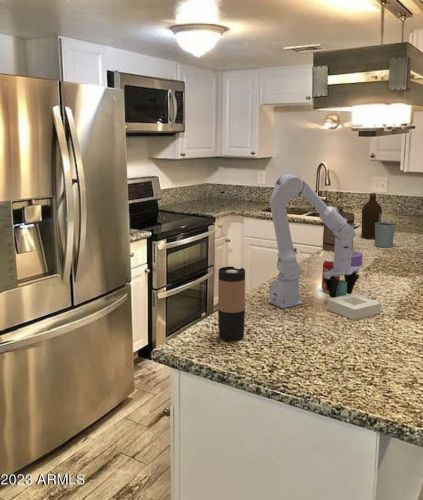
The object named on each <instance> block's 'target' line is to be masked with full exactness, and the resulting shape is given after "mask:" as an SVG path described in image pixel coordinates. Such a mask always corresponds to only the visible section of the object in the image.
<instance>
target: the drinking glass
mask: <svg viewBox="0 0 423 500" xmlns="http://www.w3.org/2000/svg"><path fill="white" fill-rule="evenodd" d="M396 226H397V224H396V223H394V222H385V221H381V222H377V223H375V239H374V247H375V248H379V249H391V248H392V247H393V243H394V238H395V233H396V228H397V227H396Z"/></svg>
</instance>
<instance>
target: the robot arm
mask: <svg viewBox="0 0 423 500" xmlns="http://www.w3.org/2000/svg"><path fill="white" fill-rule="evenodd" d="M274 184H275V185H274V188H273V189H272V190H273V191H272V193H271V197H269V205H270V211H271V217H272V222H273V228H274V235H275V238H276V240H275V241H276V245H277V250H278V252H277V261H276V269H277V270H278V272H279V273H278V274H277V278H276V279H274V280H272V281H271V282H270V284H269V300H268V303H270V304H272V305H275V306H276V307H278V308H281V309H285V308H290V307H294V306H298V305H303V304H304V301H302V300H299V286H300V276H301V274H302V268H301V267H302V266H300V264H299V262H298V261H297V256H296V254H295V252H294V246H293V241H292V234H291V229H290V224H289V223H290V222H289V218H288V212H287V204H288V203H289V202H290V201H291V199H292V198H294V197H296V195H298V196H300V197H304V198H305V199H306V200H307V201H308V202H309V204H311V206H313V207H314V208H315V210H317V212H318V213H319V219H320V220H321V221H322V222H323V224H324V223H325V224H326V225H327V226H328V227H329V228H330V230H331V231H333V235H335V236H336V237H335V250H334V252H333V258H334V269H332V270H330V271H328V272H324V280H325V282H326V284H327V287H328V290H329V293H328V294H329V298H335V297H336V290H337V286H338V283H339V280H337V279H336V278H335V277H337V276H340V277H342V276H344V281H347V294H346V295H348V294H353V290H354V287H355V285H356V283H357V281H358V279H359V278H360V274H359V273H360V267H359V266H358V267H351V254H352V251H353V248H352V240H353V241H354V238H356V235H357V232H355V227H354V228H353V227H352V226H351V225H349V224H347V219H345V218H343V217H342V216H341V215H340V214H339V213H338V211H339V210H338V209H337V207H334V206H332V205H331V206H329V205H327V204H326V203H325V202H324V201H323V200H322V198H321V197H320V196H319V195H318V194H317V192H315V190H314V189H313V188H312V187H311V185H309V184H308V183H307V181H305V180H303V179H302V178H301V176H299V175H297V174H296V175H294V174H292V173H290V172H289V173H288V172H286V173H283V174H281V175H280V176H279V177H278V178H277V180H275V183H274Z"/></svg>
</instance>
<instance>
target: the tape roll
mask: <svg viewBox="0 0 423 500" xmlns="http://www.w3.org/2000/svg"><path fill="white" fill-rule="evenodd" d="M362 265H363V253H362V252H360V251H356V250H352V254H351V267H358V268H359V267H361V266H362Z"/></svg>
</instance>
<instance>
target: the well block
mask: <svg viewBox="0 0 423 500" xmlns="http://www.w3.org/2000/svg"><path fill="white" fill-rule="evenodd" d="M326 303H327V304H326V310H328V311H331V312H333V313H336V314H338V315H340V316H342V317H345V318H348V319H350V320H352V321H356V320H357V321H358V320H362V319H364V318H369V317H372V316H376V315H380V314H381V309H382V302H379V301H377V300H374V299H371V298H368V297H365V296H361V295H359V294H356V293H353V292H352V293H351V294H346V295H344V296H340V297H335V298H332V297H330V298H327V302H326Z"/></svg>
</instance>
